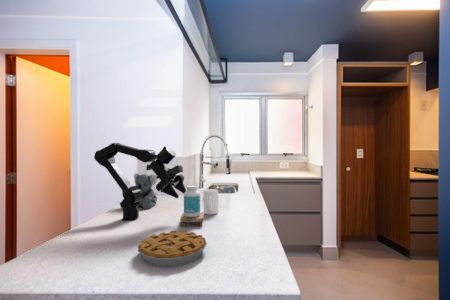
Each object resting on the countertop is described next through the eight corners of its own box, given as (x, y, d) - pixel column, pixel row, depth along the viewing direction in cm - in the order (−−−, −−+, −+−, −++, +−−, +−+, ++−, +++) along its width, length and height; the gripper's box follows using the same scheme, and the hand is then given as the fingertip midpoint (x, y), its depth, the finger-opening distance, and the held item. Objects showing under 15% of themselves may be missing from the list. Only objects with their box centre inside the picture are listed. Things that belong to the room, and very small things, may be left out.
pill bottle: (202, 217, 116) (202, 186, 116) (185, 218, 114) (185, 187, 113) (197, 213, 123) (197, 184, 123) (182, 214, 121) (182, 185, 120)
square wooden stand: (180, 227, 113) (180, 219, 113) (182, 220, 123) (182, 213, 123) (203, 226, 114) (203, 218, 114) (203, 220, 124) (203, 212, 124)
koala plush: (122, 208, 149) (121, 174, 149) (139, 201, 166) (138, 171, 166) (149, 209, 145) (149, 174, 145) (163, 202, 163) (163, 171, 162)
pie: (177, 237, 101) (177, 224, 101) (219, 251, 87) (219, 237, 87) (124, 256, 84) (124, 240, 84) (167, 277, 70) (166, 259, 70)
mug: (201, 216, 130) (201, 192, 130) (203, 210, 142) (203, 188, 142) (217, 216, 130) (217, 192, 130) (218, 210, 142) (218, 188, 142)
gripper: (162, 160, 112) (185, 187, 109) (180, 158, 130) (201, 181, 127) (146, 177, 114) (168, 204, 111) (166, 173, 132) (186, 196, 129)
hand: (182, 195), depth 120 cm, fingers open, 9 cm apart
